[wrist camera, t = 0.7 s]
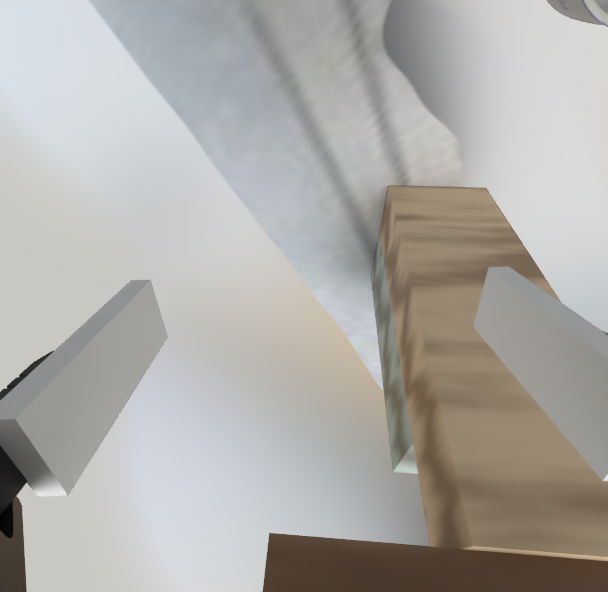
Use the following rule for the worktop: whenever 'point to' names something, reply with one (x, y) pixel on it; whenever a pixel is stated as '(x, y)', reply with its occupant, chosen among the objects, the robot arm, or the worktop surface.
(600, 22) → the teacup
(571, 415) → the robot arm
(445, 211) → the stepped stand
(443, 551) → the rail
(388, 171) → the worktop surface
